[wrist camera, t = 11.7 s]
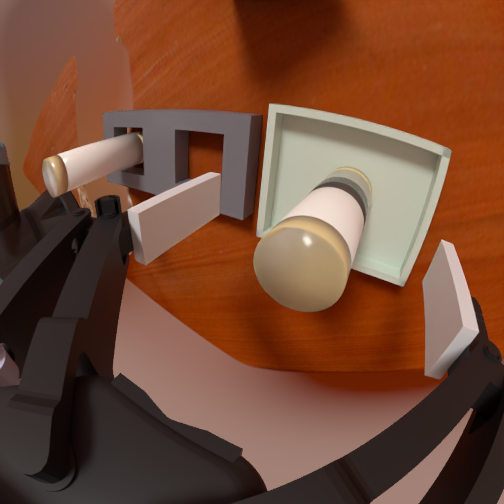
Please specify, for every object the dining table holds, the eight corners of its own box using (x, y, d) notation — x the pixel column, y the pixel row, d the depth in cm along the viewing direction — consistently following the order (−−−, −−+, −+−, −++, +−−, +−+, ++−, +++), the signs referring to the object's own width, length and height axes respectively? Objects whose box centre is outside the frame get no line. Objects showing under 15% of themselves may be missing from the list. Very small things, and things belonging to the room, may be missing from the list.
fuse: (132, 160, 30) (46, 194, 21) (130, 130, 28) (40, 157, 18) (152, 164, 28) (60, 200, 19) (151, 131, 26) (53, 159, 17)
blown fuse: (328, 160, 19) (257, 214, 10) (377, 174, 18) (358, 246, 9) (320, 206, 21) (249, 292, 12) (365, 220, 20) (330, 323, 11)
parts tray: (265, 227, 25) (256, 236, 24) (279, 104, 19) (269, 103, 18) (403, 273, 21) (403, 286, 19) (446, 147, 15) (451, 150, 13)
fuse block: (119, 176, 32) (107, 181, 31) (115, 110, 27) (103, 113, 26) (253, 212, 25) (242, 220, 24) (262, 114, 20) (251, 115, 19)
